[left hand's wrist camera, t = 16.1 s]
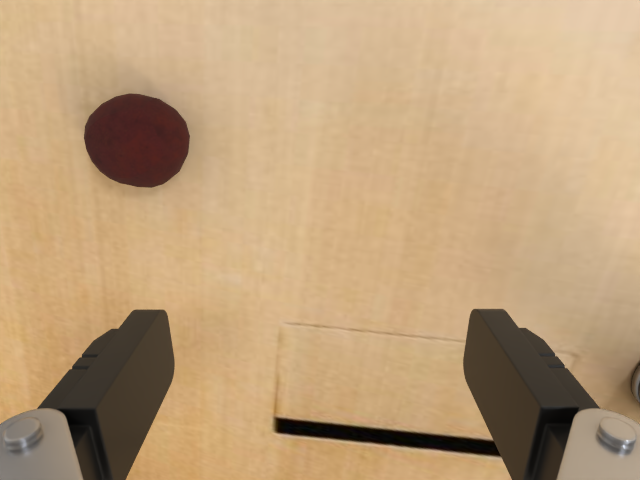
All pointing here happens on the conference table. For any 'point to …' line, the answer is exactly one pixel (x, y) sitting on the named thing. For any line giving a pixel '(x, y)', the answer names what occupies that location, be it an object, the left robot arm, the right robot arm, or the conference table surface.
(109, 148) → the potato
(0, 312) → the conference table surface
